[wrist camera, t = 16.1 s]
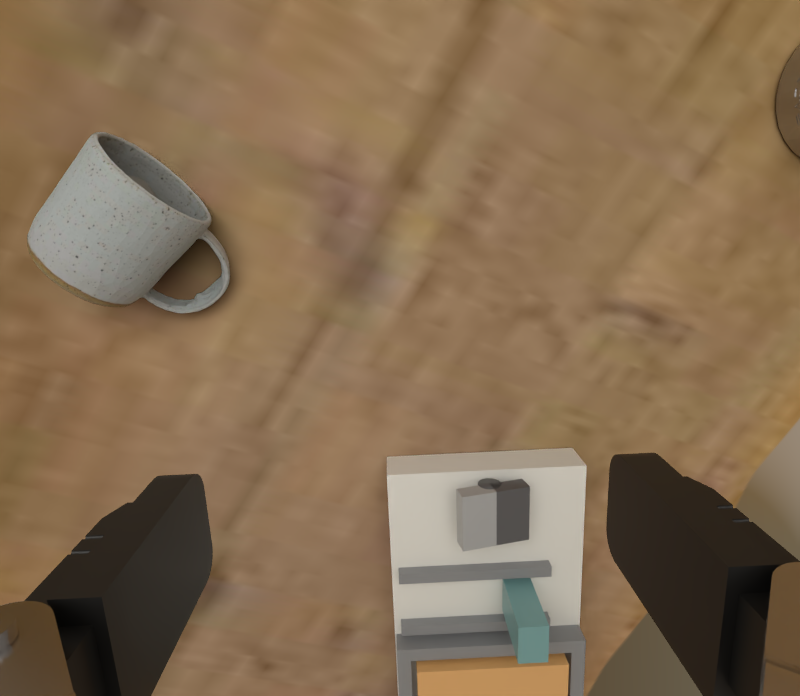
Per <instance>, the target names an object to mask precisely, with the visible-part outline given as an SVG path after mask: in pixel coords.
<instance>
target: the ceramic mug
mask: <svg viewBox="0 0 800 696" xmlns="http://www.w3.org/2000/svg"><path fill="white" fill-rule="evenodd" d="M211 221H212V219H211V215H210V213H209V211H208V209H207V208H206V206H205V205H204V203H203V202H202V200H201V199H200V198H199V197H198V196H197V195H196V194H195V193H194V192H193V191H192V190H191V189H190V188H189V187H188V185H187V184H186V183H185V182H184V181H182V180H181V179H180V178H179V177H178V176H177V175H175V174H174V173H173V172H172V171H171V170H170V169H169V168H167V167H166V166H165V165H164V164H162V163H161V162H159V161H158V160H156V159H155V158H154V157H152V156H151V155H150V154H148V153H147V152H145V151H144V150H142V149H140V148H139V147H137V146H136V145H134V144H132V143H130V142H128V141H126V140H124V139H123V138H120V137H117V136H115V135H112V134H109V133H105V132H96V133H94V134H92V135H91V136H90V138H89V139H88V140H87V142H86V143H85V145H84V146H83V148H82V149H81V151H80V152H79V154H78V155H77V157H76V158H75V160H74V161H73V162H72V164H71V165H70V167H69V168H68V170H67V171H66V173H65V174H64V176H63V177H62V179H61V180H60V182H59V183H58V185H57V186H56V188H55V189H54V191H53V192H52V193H51V195H50V196H49V198H48V199H47V201H46V202H45V204H44V205H43V206H42V208H41V209H40V211H39V212H38V213H37V215H36V217H35V218H34V220H33V223H32V225H31V228H30V231H29V233H28V235H27V247H28V250H29V253H30V255H31V257H32V259H33V260H34V262H35V264H36V265H37V267H38V268H39V269H40V270H41V271H42V272H43V273H44V274H45V275H46V276H47V277H48V278H50V279H51V280H52V281H53V282H55V283H56V284H57V285H59V286H60V287H61V288H63V289H65V290H66V291H68V292H70V293H72V294H73V295H75V296H77V297H79V298H81V299H83V300H86V301H88V302H91V303H94V304H98V305H102V306H108V307H123V306H128V305H130V304H132V303H134V302H135V301H136V300H138V299H139V298H145V299H147V300H148V301H149V302H150V303H152V304H154V305H155V306H157V307H160V308H162V309H164V310H167V311H171V312H175V313H192V312H197V311H201V310H203V309H205V308H207V307H209V306H211V305H212V304H213V303H215V302H216V301H217V300H218V299H219V298H220V297H221V296H222V295H223V294H224V292H225V291H226V289H227V287H228V285H229V280H230V267H229V261H228V257H227V254H226V252H225V250H224V248H223V247H222V245H221V244H220V242H219V241H218V240H217V239H216V237H215V236H214V235H213V234H212V233H211V232H210V231H209V230H208V229H207V228H208V227H209V226H210V224H211ZM197 239H203V240H204V241H206V242H207V243H208V244H209V245H210V247H211V248H212V249H213V251H214V252H215V254H216V255H217V257H218V258H219V260H220V263H221V268H222V274H221V276H220V278H218V279H217V280H216V281H215V282H214V283H213V284H212V285H211V286H210V287H209V288H207V289H206V290H205V291H203V292H201V293H198V294H197V295H196V296H195V298H194V299H191V300H178V299H174V298H172V297H168V296H166V295H164V294H162V293H159V292H157V291H156V290H154V289H152V287H153V286H154V285H155V284H156V283H157V282H158V281H159V280H160V278H161V277H162V276H163V274H164V273H166V271H167V270H168V269H169V268H170V267H171V266H172V265H173V264H174V263H175V262H176V261H177V260H178V259H179V258H180V257H181V256H182V255H183V254H184V253H185V252H186V251H187V250H188V249H189V248H190V247H191V246H192V245H193V244H194V242H195V241H196V240H197Z"/></svg>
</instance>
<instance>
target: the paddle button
mask: <svg viewBox="0 0 800 696" xmlns="http://www.w3.org/2000/svg"><path fill="white" fill-rule="evenodd" d="M416 670H417V695H418V696H568V676H569V664H568V661H567V659H566V656H565V654H564V653H558V654H549V656H548V662H543V663H525V664H518V662H517V659H516V656H501V657H482V658H463V659H444V660H425V661H416Z"/></svg>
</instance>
